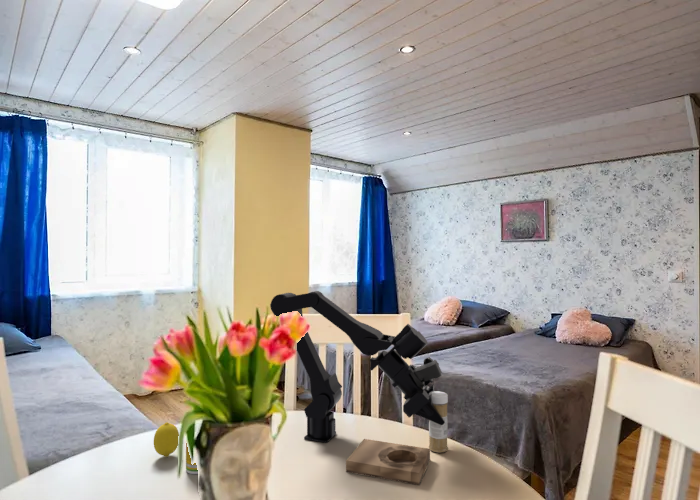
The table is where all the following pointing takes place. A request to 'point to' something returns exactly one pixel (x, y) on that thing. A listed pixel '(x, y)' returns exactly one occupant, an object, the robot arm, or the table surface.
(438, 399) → the sprinkles bottle
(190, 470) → the supplement bottle
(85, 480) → the table surface
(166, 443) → the lemon
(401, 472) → the board
